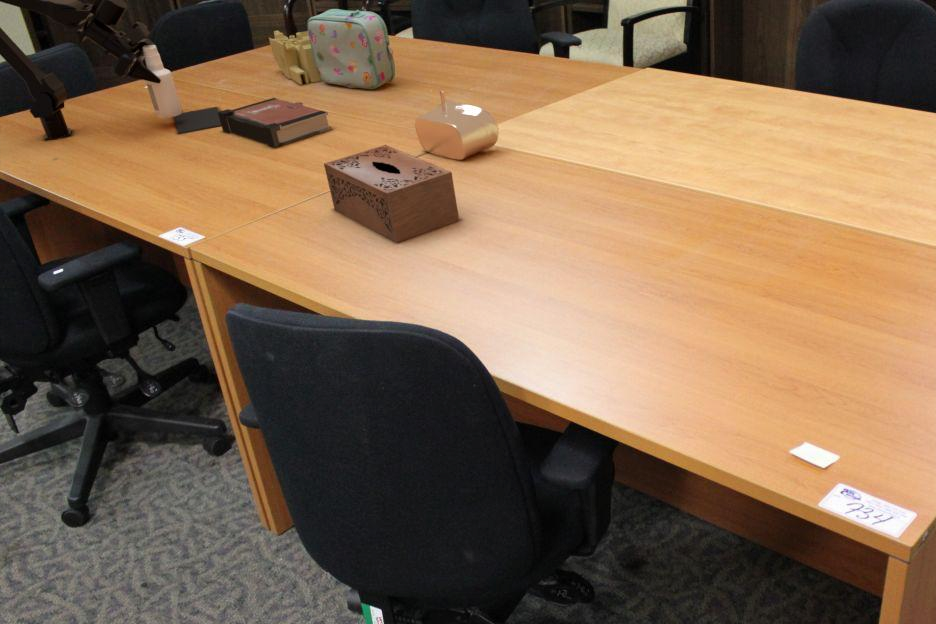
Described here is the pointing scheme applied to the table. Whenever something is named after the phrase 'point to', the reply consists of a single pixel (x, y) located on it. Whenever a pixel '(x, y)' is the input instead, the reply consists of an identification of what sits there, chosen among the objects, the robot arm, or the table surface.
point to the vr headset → (456, 130)
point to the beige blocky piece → (295, 57)
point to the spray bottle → (161, 86)
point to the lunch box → (351, 48)
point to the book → (274, 122)
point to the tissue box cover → (392, 192)
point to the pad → (197, 120)
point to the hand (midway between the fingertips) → (164, 78)
